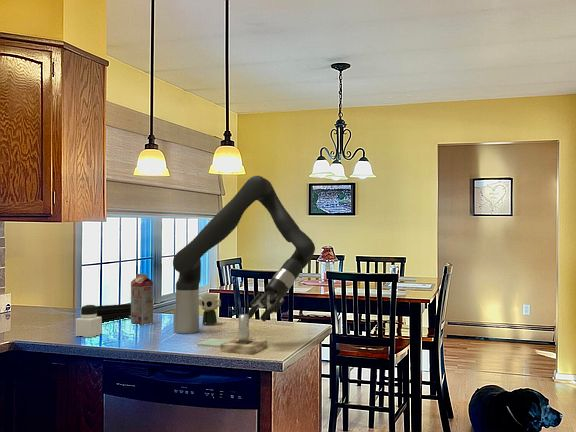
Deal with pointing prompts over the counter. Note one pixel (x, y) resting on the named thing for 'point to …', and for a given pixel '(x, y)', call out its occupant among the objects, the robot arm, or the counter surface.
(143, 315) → the juice carton
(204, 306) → the big headed toy figurine
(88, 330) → the medicine bottle
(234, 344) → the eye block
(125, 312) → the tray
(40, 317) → the counter surface
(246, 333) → the peg
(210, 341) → the mat
